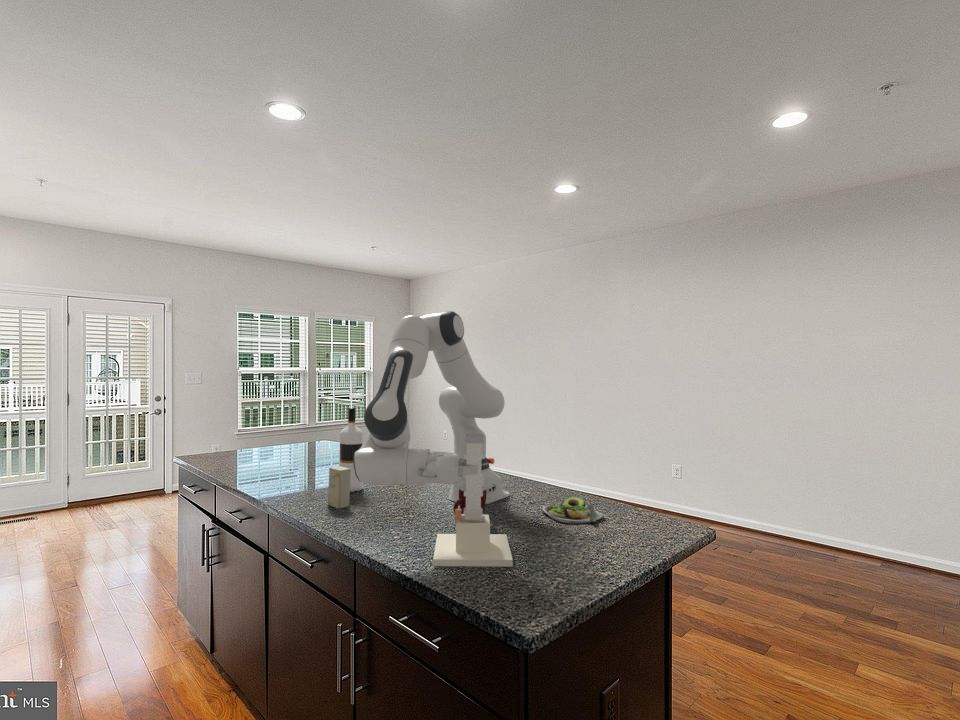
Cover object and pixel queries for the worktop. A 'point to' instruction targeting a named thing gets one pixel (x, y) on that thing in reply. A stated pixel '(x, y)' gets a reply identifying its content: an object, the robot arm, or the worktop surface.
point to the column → (473, 478)
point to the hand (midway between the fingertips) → (477, 467)
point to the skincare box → (339, 487)
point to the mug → (463, 499)
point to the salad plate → (572, 511)
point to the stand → (472, 545)
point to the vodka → (350, 448)
